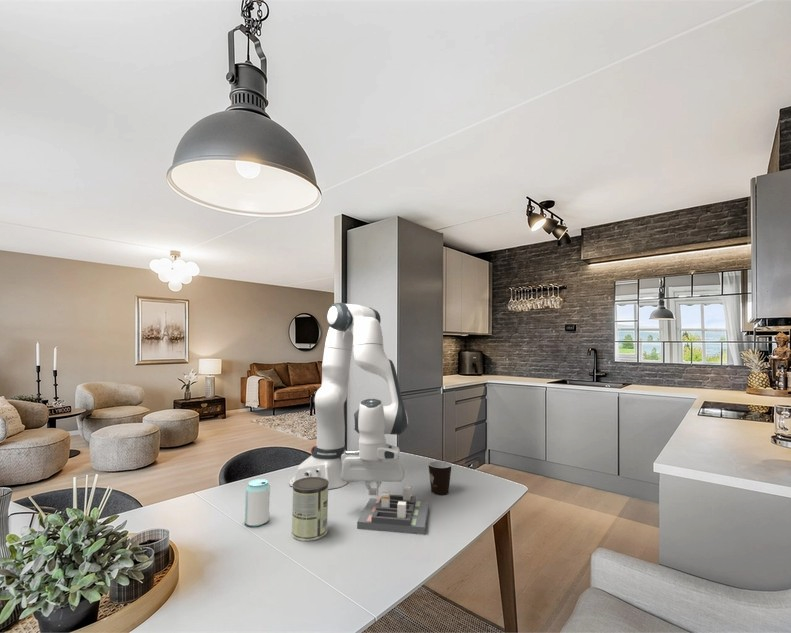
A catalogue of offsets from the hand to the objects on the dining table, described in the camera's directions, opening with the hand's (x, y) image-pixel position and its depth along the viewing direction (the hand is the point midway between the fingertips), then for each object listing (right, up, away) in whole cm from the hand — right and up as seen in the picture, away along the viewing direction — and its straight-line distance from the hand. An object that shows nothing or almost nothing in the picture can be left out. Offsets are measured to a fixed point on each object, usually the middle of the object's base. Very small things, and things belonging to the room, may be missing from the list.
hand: (373, 494), depth 125 cm
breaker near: (+9, -4, -9) cm, 13 cm away
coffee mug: (+24, -8, +22) cm, 33 cm away
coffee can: (-18, -6, -12) cm, 22 cm away
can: (-35, -6, -6) cm, 36 cm away
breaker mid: (+4, -4, -1) cm, 6 cm away
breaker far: (+11, -5, +4) cm, 12 cm away
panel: (+7, -6, -2) cm, 10 cm away
